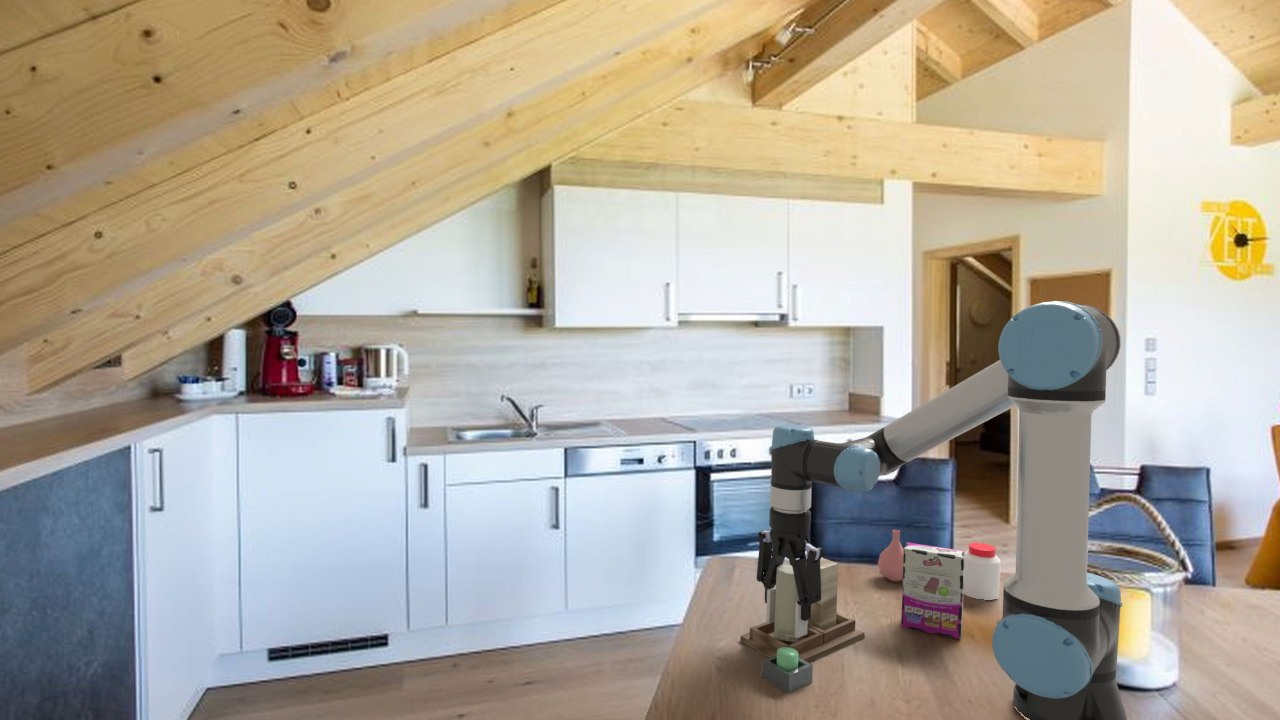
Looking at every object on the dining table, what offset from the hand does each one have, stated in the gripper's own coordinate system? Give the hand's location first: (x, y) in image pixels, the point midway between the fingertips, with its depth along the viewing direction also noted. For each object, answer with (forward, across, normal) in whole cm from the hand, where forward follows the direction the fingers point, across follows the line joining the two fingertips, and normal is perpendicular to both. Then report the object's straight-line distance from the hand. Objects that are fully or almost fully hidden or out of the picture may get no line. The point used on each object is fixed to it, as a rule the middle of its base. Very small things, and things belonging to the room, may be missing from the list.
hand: (786, 628), depth 127 cm
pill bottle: (+4, -9, -56) cm, 57 cm away
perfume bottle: (+4, +7, -47) cm, 48 cm away
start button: (+3, -8, +9) cm, 12 cm away
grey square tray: (+4, -8, +9) cm, 13 cm away
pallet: (+4, 0, -5) cm, 6 cm away
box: (+2, 0, 0) cm, 2 cm away
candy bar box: (+4, -12, -30) cm, 33 cm away
